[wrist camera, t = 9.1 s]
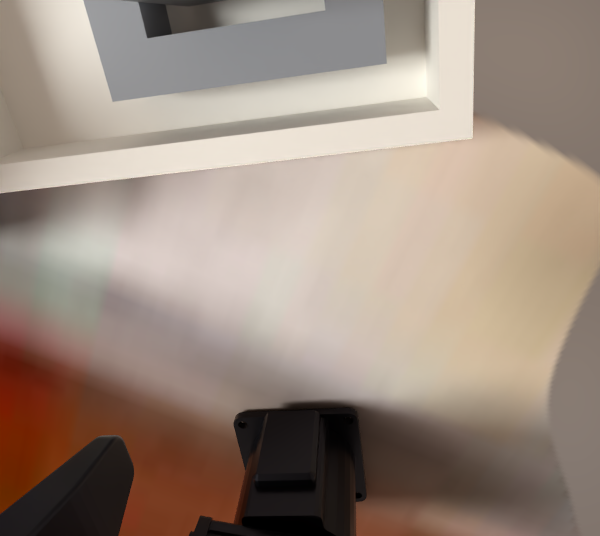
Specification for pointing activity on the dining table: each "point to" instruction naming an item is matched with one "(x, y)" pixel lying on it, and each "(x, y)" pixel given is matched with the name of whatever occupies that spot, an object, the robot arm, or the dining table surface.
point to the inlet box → (224, 84)
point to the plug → (177, 2)
